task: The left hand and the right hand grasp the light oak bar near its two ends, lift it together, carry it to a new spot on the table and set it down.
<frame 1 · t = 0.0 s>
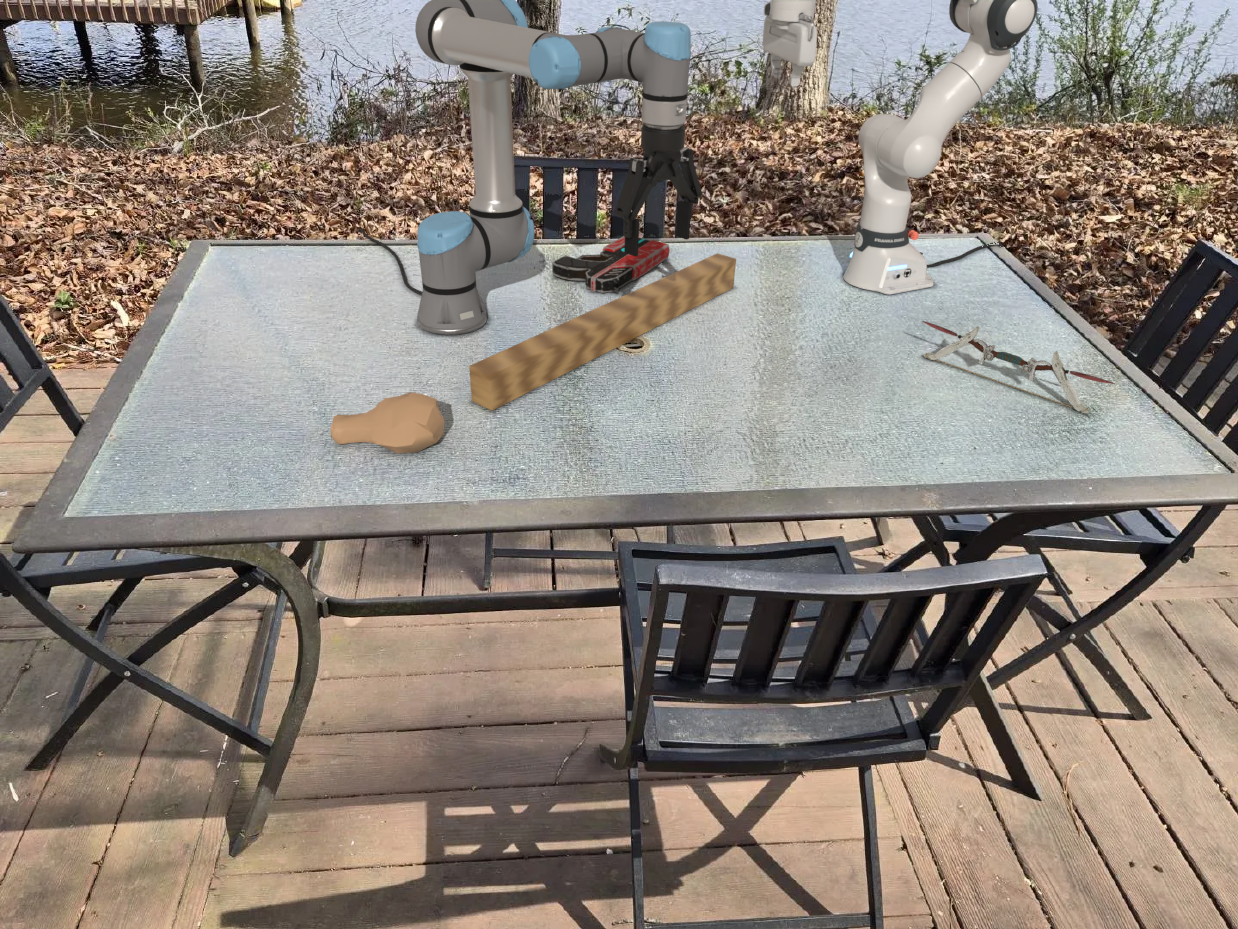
left hand: (657, 245, 161), 28 cm above the table, tool pointing down, fingers open, 13 cm apart
right hand: (784, 81, 190), 48 cm above the table, tool pointing down, fingers open, 8 cm apart
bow: (1002, 384, 179), on the table
squash: (390, 443, 154), on the table
bar: (619, 337, 193), on the table
gun: (612, 270, 225), on the table
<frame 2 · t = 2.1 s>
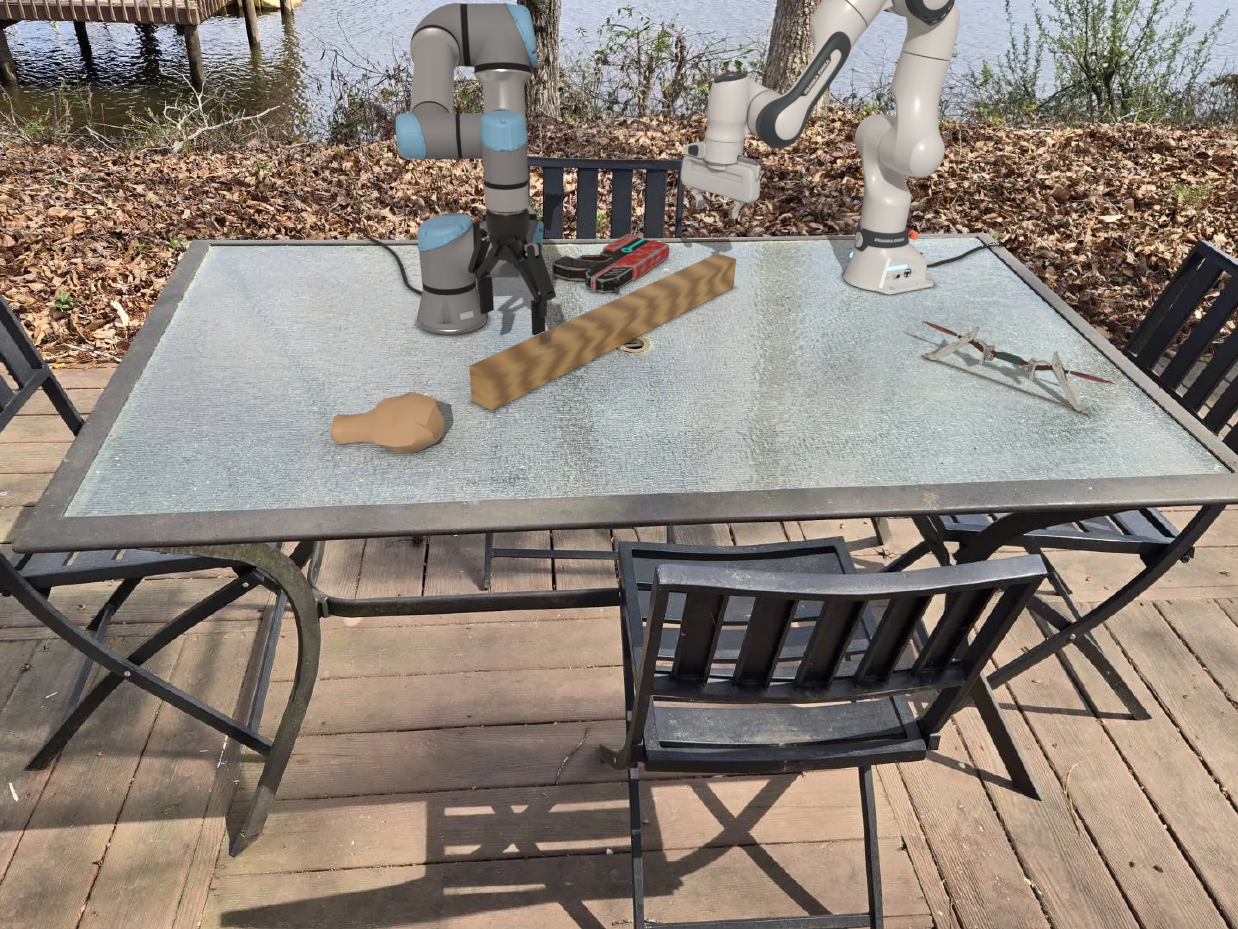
left hand: (512, 322, 163), 15 cm above the table, tool pointing down, fingers open, 13 cm apart
right hand: (716, 212, 203), 20 cm above the table, tool pointing down, fingers open, 8 cm apart
nothing on the table moved.
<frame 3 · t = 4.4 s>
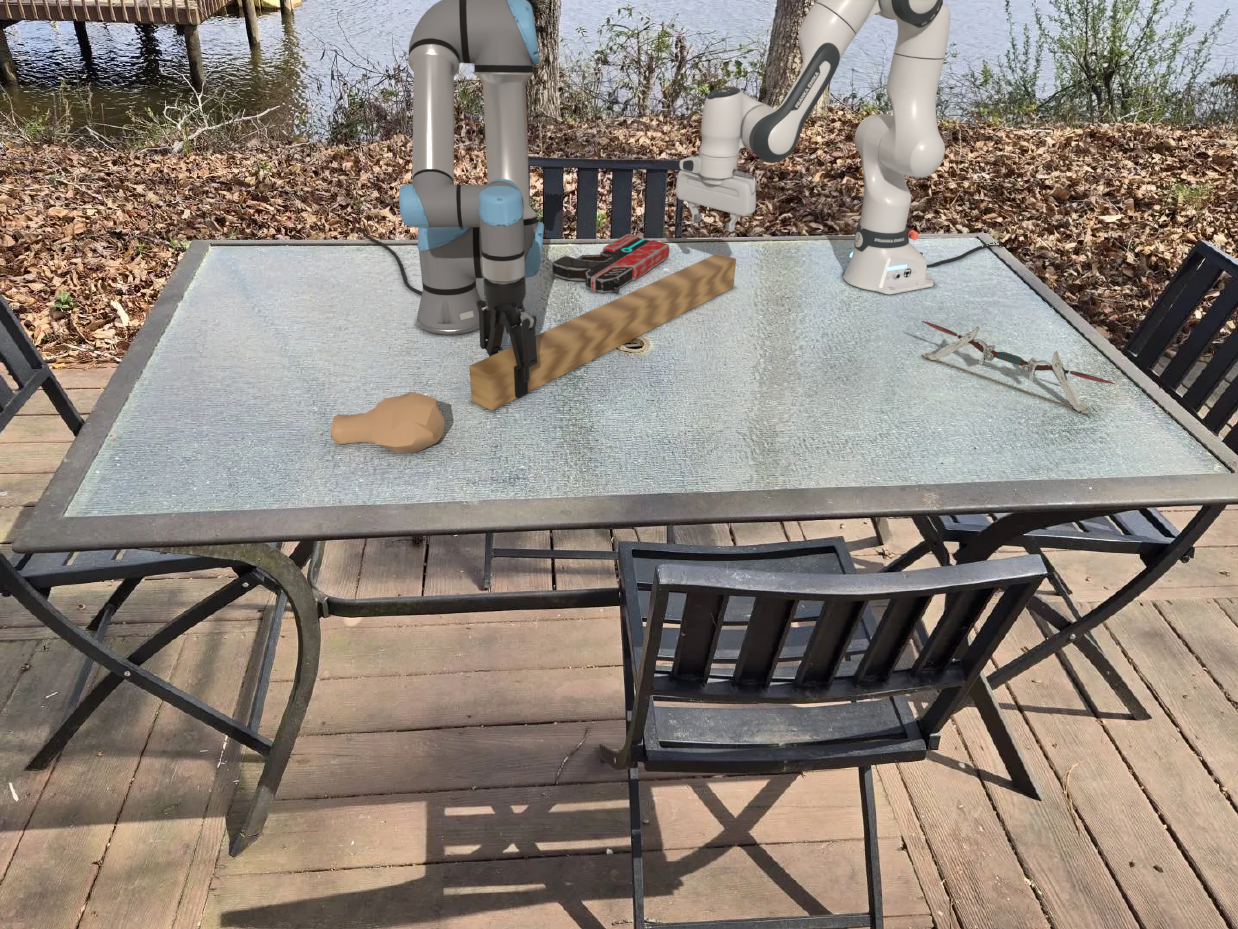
left hand: (510, 389, 171), 1 cm above the table, tool pointing down, fingers closed on bar, 6 cm apart
right hand: (712, 226, 205), 17 cm above the table, tool pointing down, fingers open, 8 cm apart
bar: (619, 337, 193), on the table, touching left hand
everything else where it was.
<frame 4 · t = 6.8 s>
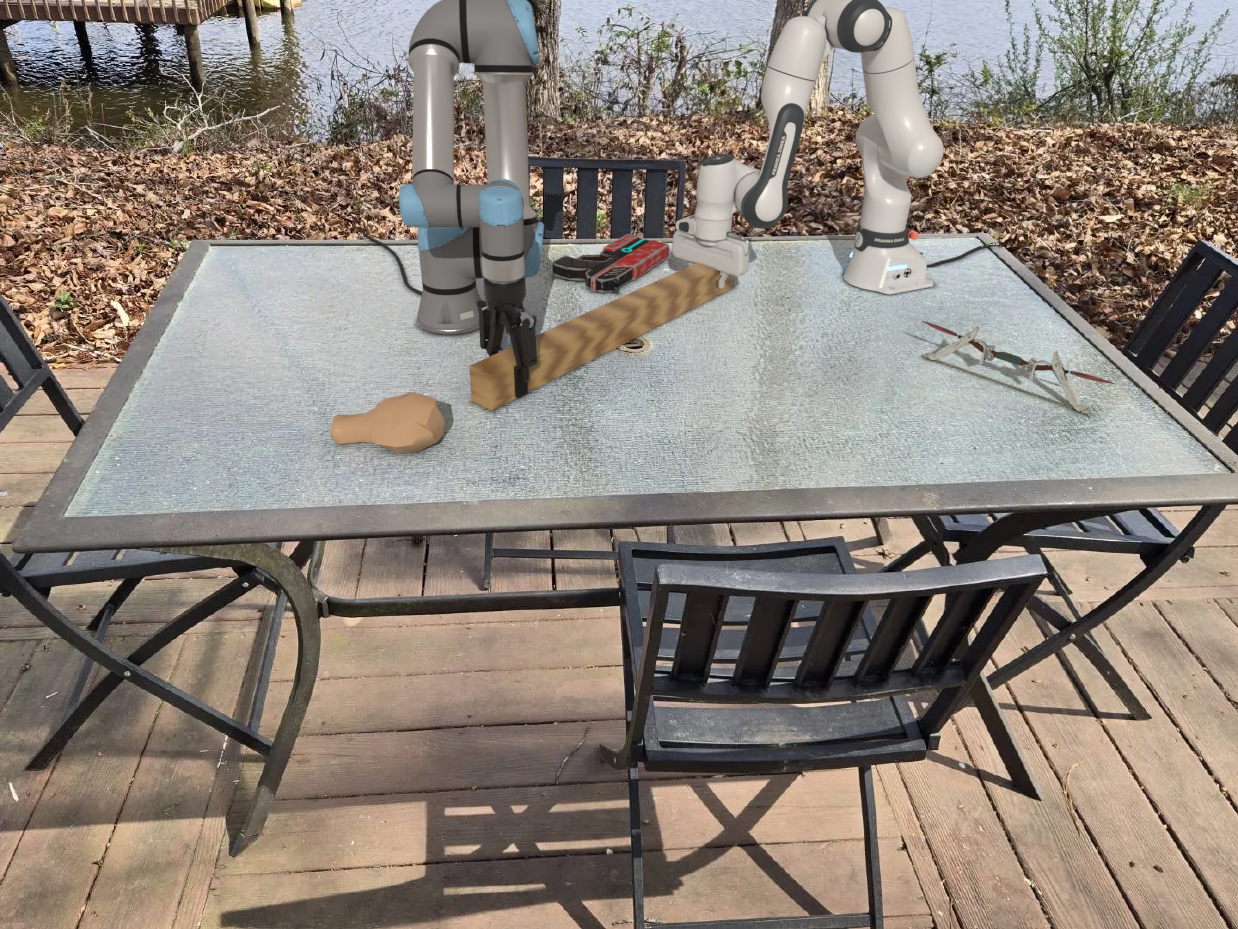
left hand: (510, 389, 171), 1 cm above the table, tool pointing down, fingers closed on bar, 6 cm apart
right hand: (707, 283, 213), 3 cm above the table, tool pointing down, fingers closed on bar, 5 cm apart
bar: (619, 337, 193), on the table, touching left hand, right hand
everything else where it was.
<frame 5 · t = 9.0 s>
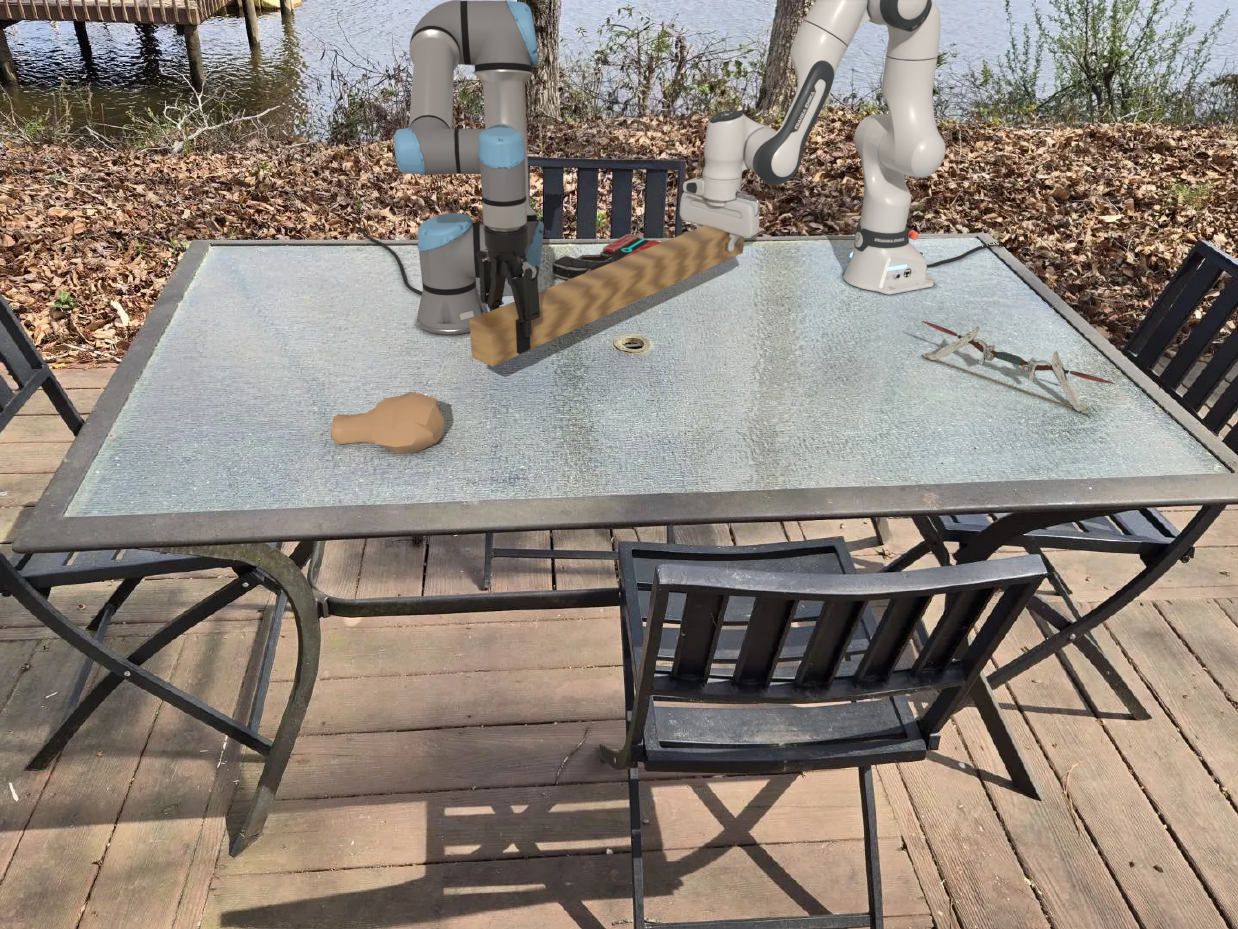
left hand: (511, 345, 164), 11 cm above the table, tool pointing down, fingers closed on bar, 6 cm apart
right hand: (716, 246, 206), 12 cm above the table, tool pointing down, fingers closed on bar, 5 cm apart
bar: (625, 298, 186), point 10 cm above the table, touching left hand, right hand
everything else where it was.
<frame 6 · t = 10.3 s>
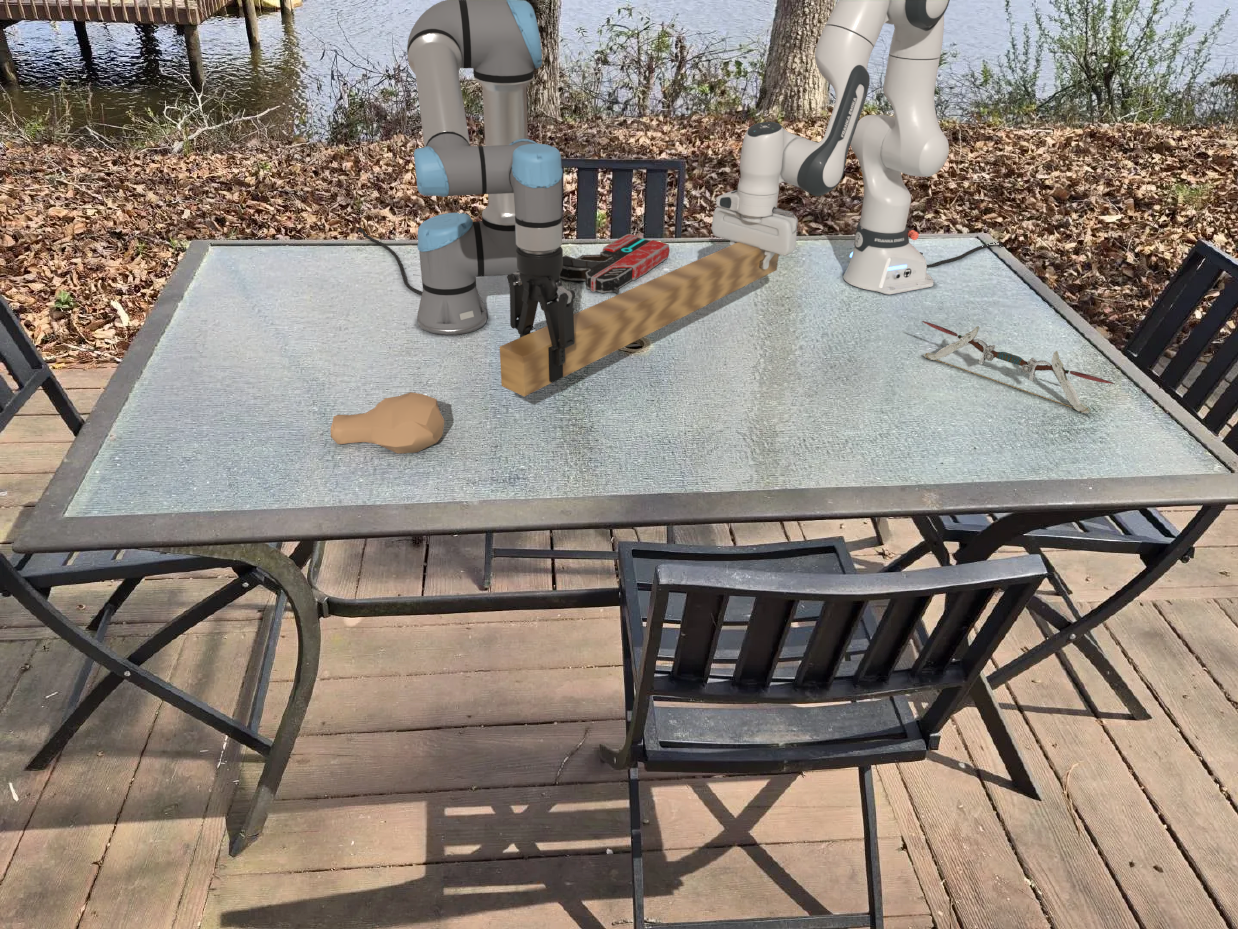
left hand: (543, 373, 155), 11 cm above the table, tool pointing down, fingers closed on bar, 6 cm apart
right hand: (750, 264, 197), 12 cm above the table, tool pointing down, fingers closed on bar, 5 cm apart
bar: (658, 319, 177), point 10 cm above the table, touching left hand, right hand
everything else where it was.
when the left hand's fingers open (2 cm above the table, at t = 13.5 s): bar drops 1 cm, held by the right hand.
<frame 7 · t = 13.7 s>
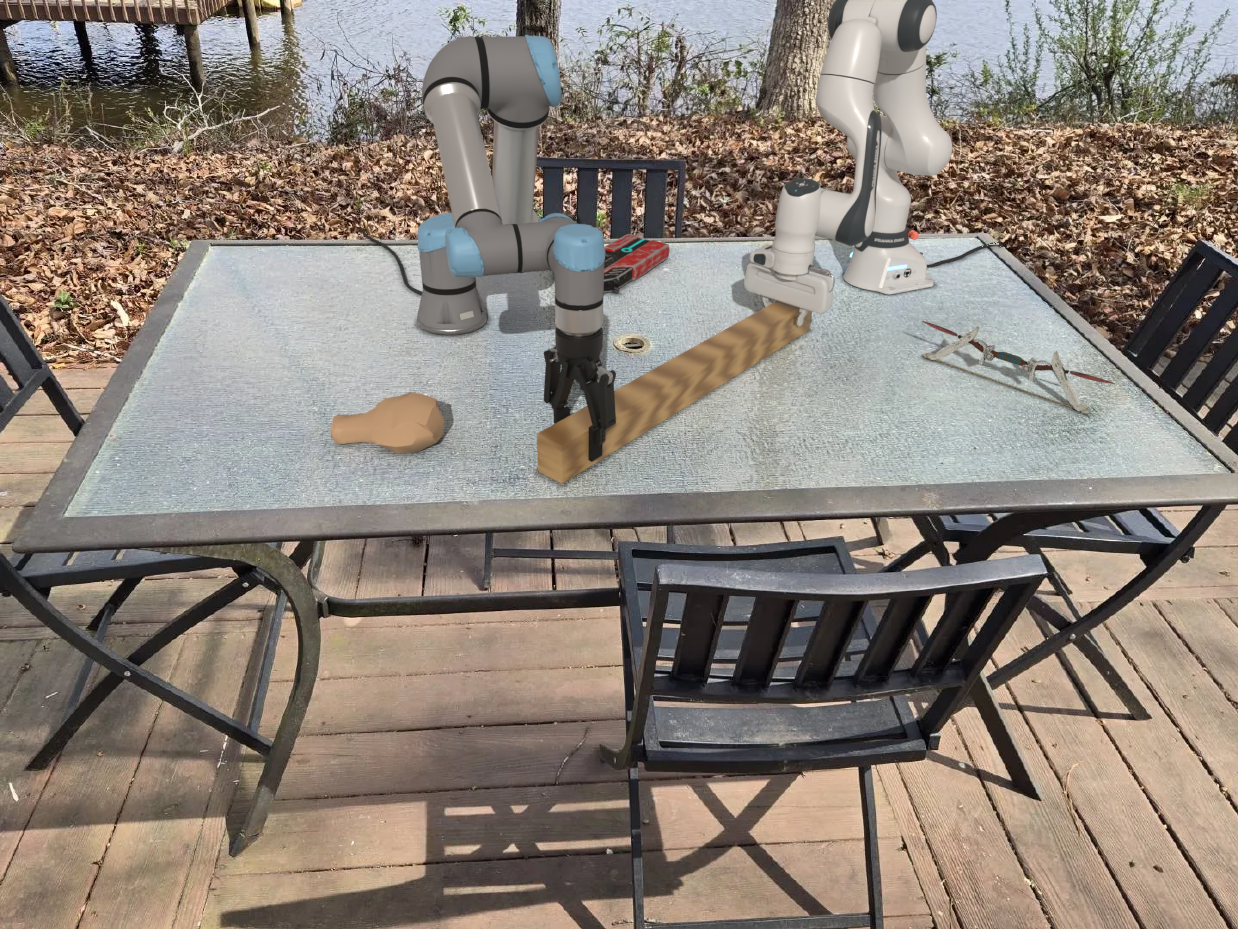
left hand: (579, 449, 150), 2 cm above the table, tool pointing down, fingers open, 7 cm apart
right hand: (783, 320, 192), 4 cm above the table, tool pointing down, fingers closed on bar, 6 cm apart
bar: (693, 390, 173), on the table, touching right hand
everything else where it was.
when the right hand's fingers open (4 cm above the table, at t = 13.8 s): bar stays where it is, on the table.
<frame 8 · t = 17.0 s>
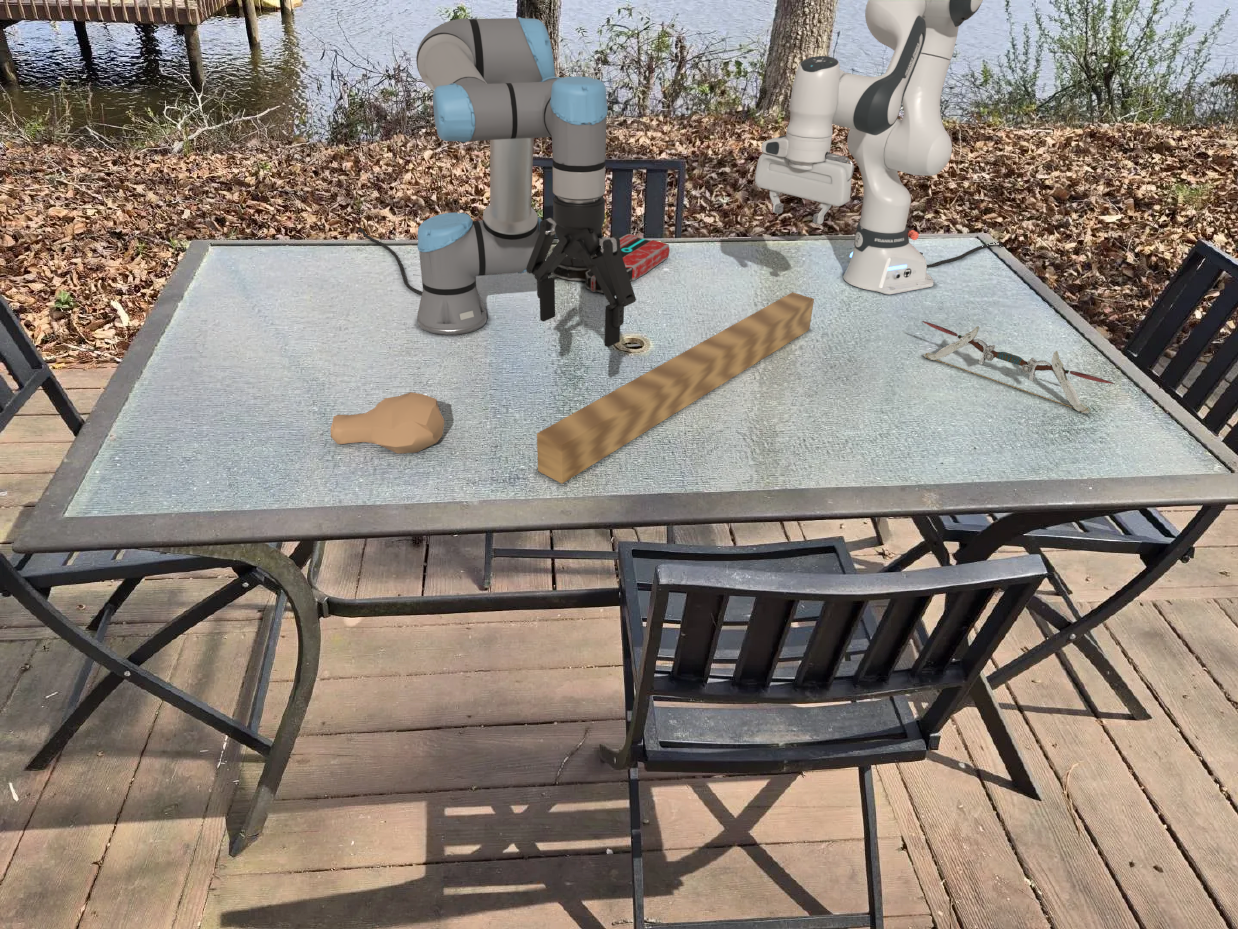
left hand: (579, 331, 138), 24 cm above the table, tool pointing down, fingers open, 13 cm apart
right hand: (797, 217, 180), 27 cm above the table, tool pointing down, fingers open, 8 cm apart
bar: (693, 390, 173), on the table
everything else where it was.
at the end: bar inside the target area (0.4 cm from its centre), on the table; bar tilted 0°; bar never tilted more than 1° during the clip; both hands held the bar at the same time; the left hand is holding nothing; the right hand is holding nothing; bar at rest at the end (0.0 cm/s) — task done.
